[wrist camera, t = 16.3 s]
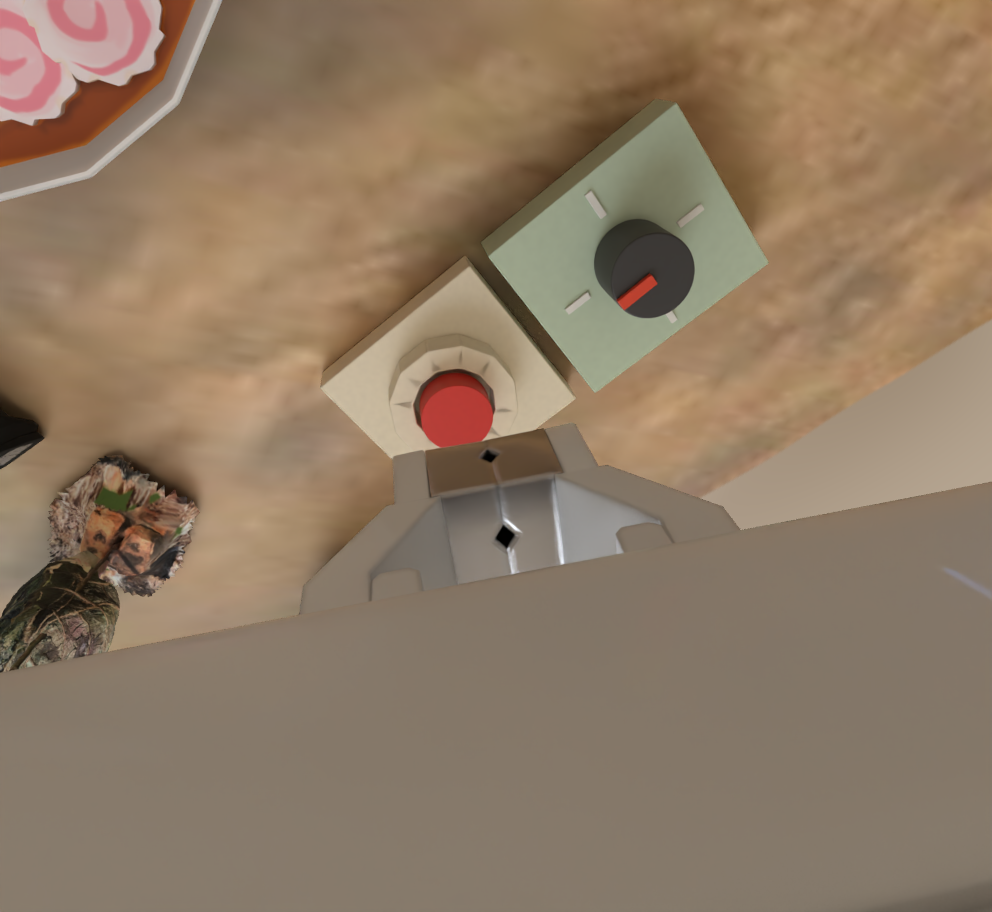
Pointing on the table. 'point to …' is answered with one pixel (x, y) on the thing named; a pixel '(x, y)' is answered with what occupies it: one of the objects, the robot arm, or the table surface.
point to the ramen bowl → (88, 81)
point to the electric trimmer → (16, 437)
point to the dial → (644, 268)
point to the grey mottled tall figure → (95, 564)
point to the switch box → (445, 364)
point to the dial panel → (601, 206)
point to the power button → (455, 410)
